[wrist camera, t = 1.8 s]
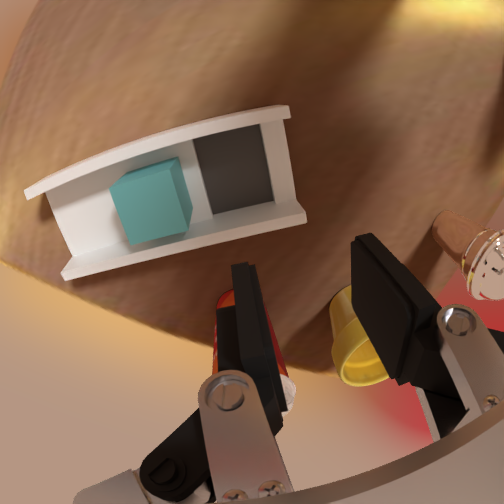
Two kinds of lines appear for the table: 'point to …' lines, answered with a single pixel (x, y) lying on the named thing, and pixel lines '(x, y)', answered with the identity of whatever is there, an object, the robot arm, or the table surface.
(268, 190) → the trap channel
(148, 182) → the teal block
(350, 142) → the table surface
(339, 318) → the plant pot
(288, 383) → the paper cup
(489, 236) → the cup with straw
